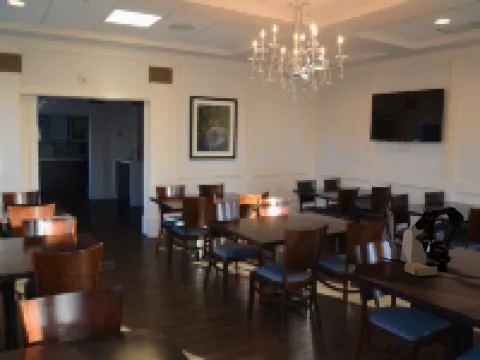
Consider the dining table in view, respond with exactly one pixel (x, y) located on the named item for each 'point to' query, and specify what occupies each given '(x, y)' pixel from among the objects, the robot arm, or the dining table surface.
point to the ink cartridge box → (392, 246)
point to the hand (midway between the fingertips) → (428, 253)
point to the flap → (426, 271)
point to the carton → (413, 267)
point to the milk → (412, 247)
